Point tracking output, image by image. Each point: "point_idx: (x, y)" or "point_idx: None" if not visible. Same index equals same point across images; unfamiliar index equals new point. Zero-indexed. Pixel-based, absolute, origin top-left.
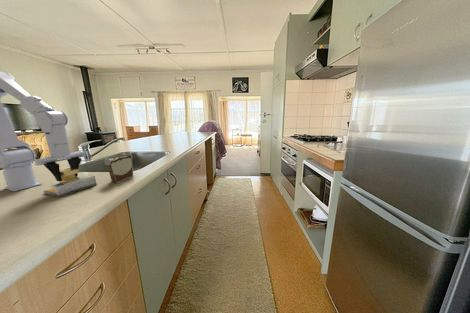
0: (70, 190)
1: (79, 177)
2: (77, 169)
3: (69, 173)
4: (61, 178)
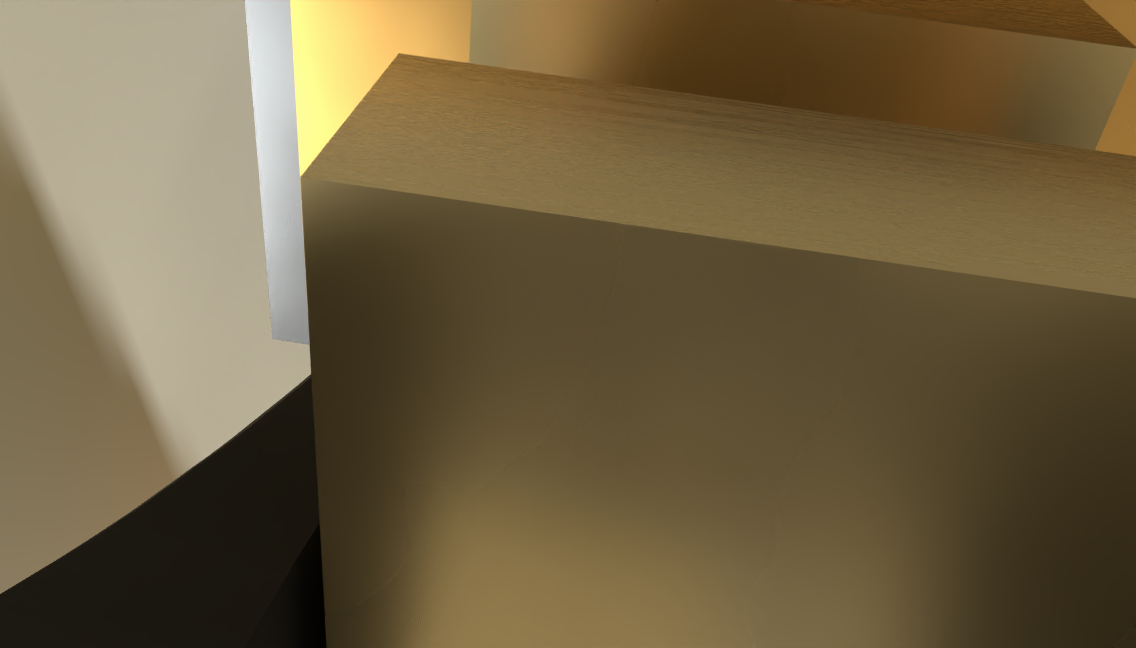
0: None
1: (476, 17)
2: (372, 170)
3: (1016, 177)
4: None
